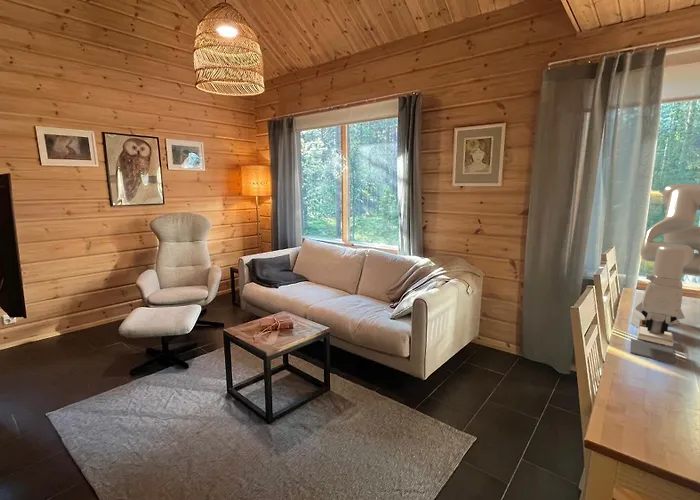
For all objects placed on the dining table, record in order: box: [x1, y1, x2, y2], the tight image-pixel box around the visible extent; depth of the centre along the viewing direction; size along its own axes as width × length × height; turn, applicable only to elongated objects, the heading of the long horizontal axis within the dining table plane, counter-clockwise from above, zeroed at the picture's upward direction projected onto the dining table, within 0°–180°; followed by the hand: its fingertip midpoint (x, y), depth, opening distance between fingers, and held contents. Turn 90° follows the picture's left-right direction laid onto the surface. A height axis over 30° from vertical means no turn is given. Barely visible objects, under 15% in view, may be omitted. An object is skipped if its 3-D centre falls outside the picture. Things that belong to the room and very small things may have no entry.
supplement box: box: [630, 290, 665, 329], centre depth 150 cm, size 9×9×15 cm
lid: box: [637, 320, 675, 347], centre depth 128 cm, size 9×9×6 cm
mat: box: [629, 338, 676, 365], centre depth 130 cm, size 14×12×1 cm
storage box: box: [637, 319, 669, 346], centre depth 139 cm, size 8×8×6 cm
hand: (655, 330), depth 128 cm, fingers closed on lid, 3 cm apart
